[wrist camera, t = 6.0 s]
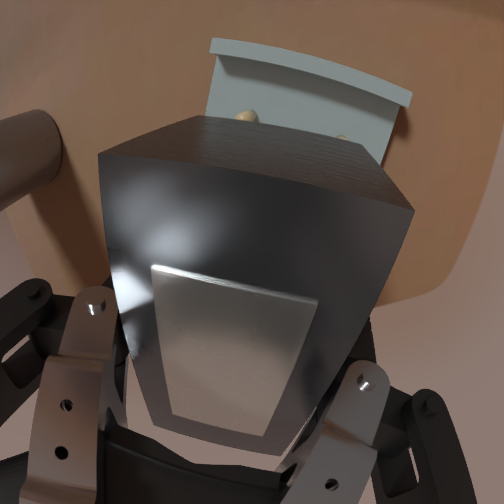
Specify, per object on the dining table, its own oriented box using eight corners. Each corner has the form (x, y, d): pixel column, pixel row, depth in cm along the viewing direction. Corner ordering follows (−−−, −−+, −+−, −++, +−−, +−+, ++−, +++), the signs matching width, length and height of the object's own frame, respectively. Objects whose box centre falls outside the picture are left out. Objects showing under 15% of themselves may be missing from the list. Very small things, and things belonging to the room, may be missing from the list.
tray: (191, 235, 29) (174, 258, 25) (224, 43, 19) (208, 35, 15) (330, 275, 28) (332, 303, 25) (399, 91, 18) (417, 93, 15)
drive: (198, 115, 8) (95, 155, 4) (361, 144, 8) (416, 213, 4) (191, 343, 14) (154, 430, 10) (290, 365, 14) (277, 461, 9)
